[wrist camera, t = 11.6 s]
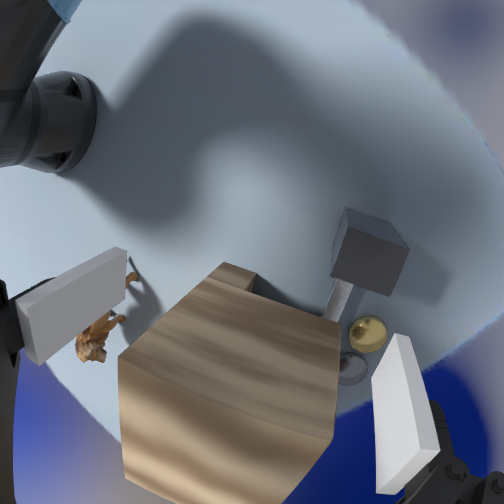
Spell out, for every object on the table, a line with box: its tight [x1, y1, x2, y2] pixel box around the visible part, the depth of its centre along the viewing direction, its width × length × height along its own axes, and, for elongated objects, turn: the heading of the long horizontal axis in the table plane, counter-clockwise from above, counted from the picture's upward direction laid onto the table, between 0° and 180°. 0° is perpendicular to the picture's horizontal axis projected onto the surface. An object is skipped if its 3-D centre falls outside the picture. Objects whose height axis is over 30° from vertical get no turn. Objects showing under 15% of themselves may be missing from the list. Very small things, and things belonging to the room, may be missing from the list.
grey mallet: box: [321, 207, 410, 322], centre depth 30 cm, size 22×5×10 cm, turn 165°
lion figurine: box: [75, 272, 138, 363], centre depth 39 cm, size 15×5×9 cm, turn 161°
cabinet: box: [118, 262, 341, 504], centre depth 29 cm, size 18×15×20 cm
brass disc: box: [349, 316, 387, 353], centre depth 34 cm, size 4×4×1 cm
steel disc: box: [338, 353, 367, 385], centre depth 36 cm, size 4×4×1 cm
